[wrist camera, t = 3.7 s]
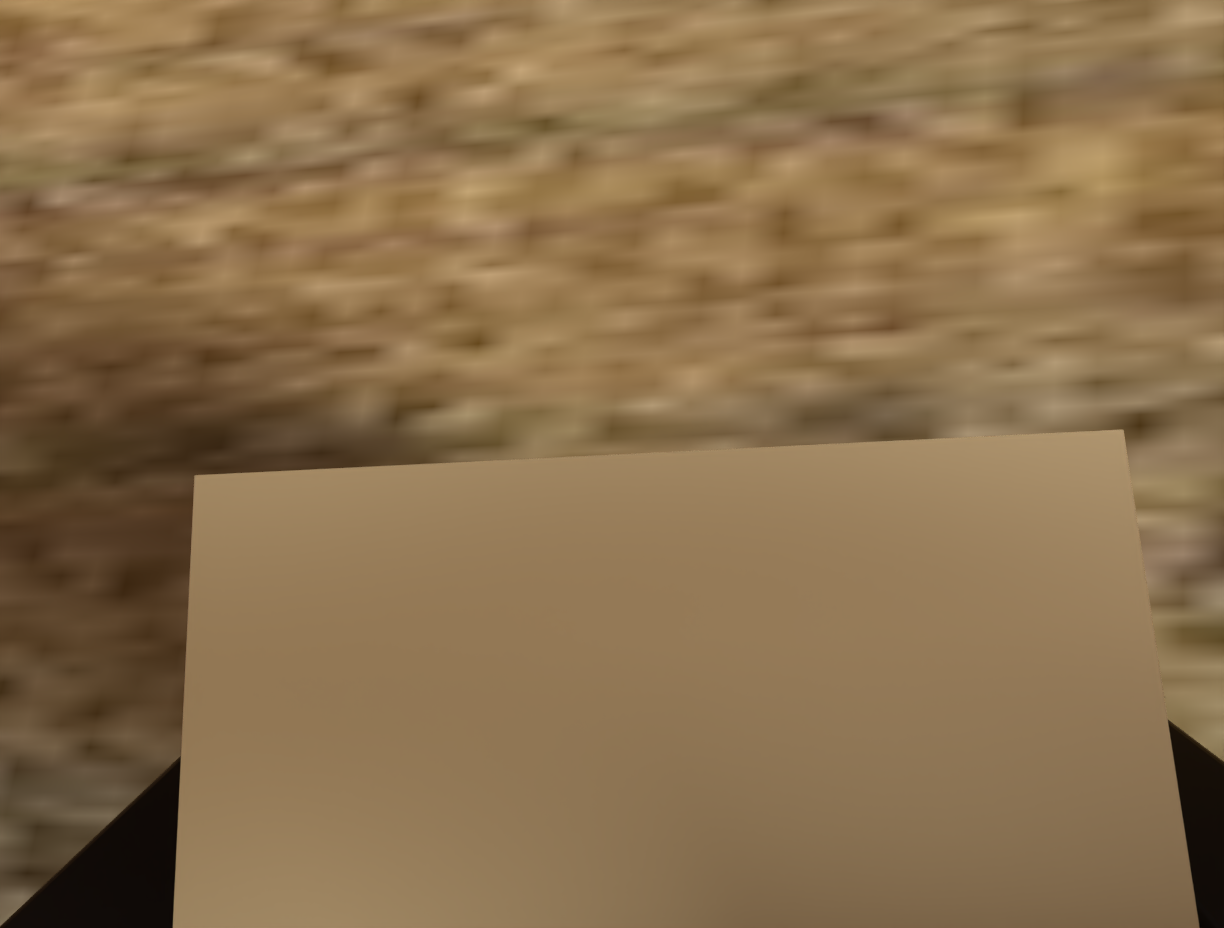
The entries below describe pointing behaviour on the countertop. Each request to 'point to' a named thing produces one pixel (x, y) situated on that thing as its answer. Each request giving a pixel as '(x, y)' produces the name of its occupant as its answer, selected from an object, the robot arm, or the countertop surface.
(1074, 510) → the block
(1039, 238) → the countertop surface
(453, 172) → the countertop surface
